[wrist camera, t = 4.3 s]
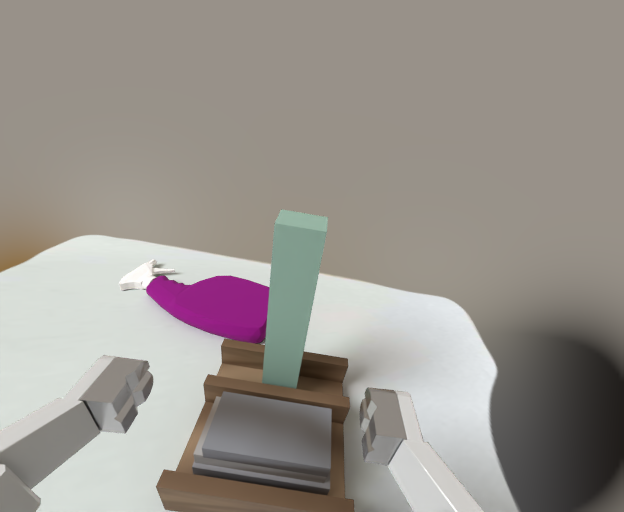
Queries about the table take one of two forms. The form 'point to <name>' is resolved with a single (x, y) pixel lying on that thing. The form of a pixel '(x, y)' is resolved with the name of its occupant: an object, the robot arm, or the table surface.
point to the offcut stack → (266, 443)
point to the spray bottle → (207, 302)
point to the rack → (248, 381)
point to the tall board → (291, 293)
